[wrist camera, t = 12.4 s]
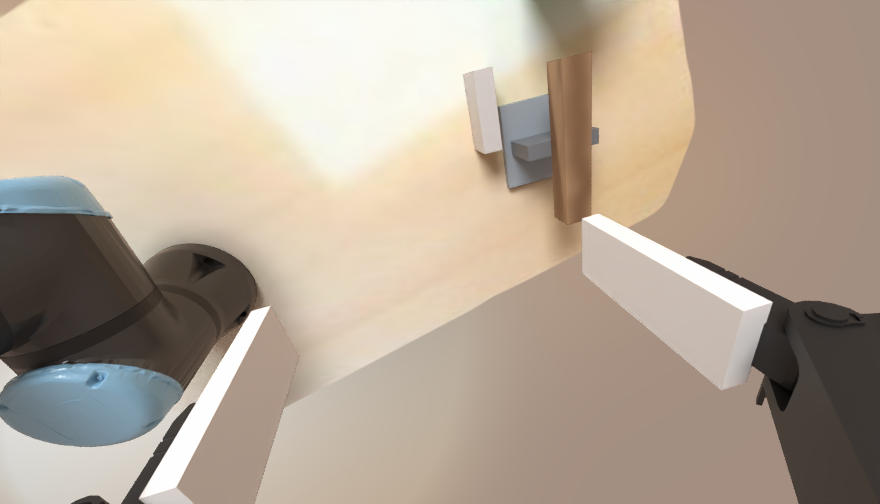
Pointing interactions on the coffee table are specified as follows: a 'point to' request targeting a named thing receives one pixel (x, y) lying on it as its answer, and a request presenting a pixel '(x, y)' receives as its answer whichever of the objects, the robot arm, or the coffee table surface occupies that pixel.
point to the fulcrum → (528, 140)
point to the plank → (571, 135)
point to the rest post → (483, 110)
